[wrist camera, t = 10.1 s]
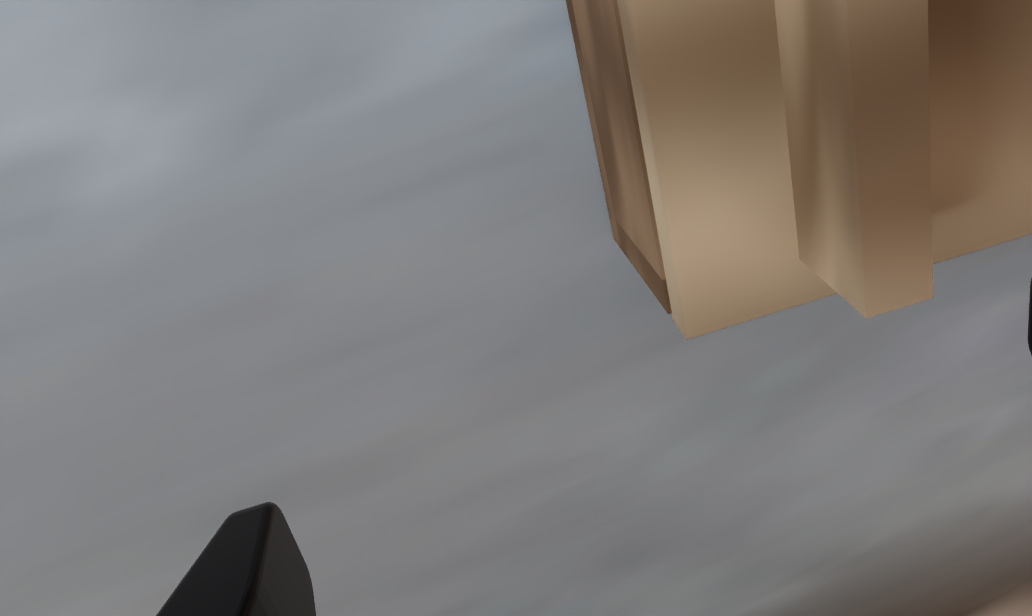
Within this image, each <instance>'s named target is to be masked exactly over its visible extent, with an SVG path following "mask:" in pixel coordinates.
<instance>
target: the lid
mask: <svg viewBox="0 0 1032 616" xmlns="http://www.w3.org/2000/svg"><path fill="white" fill-rule="evenodd" d="M617 3H618V9H619V15H620V20H621V26H622V32H623V37H624V43H625V49H626V54H627V60H628V66H629V72H630V77H631V83H632V89H633V94H634V100H635V106H636V111H637V117H638V123H639V128H640V134H641V140H642V146H643V151H644V157H645V163H646V168H647V174H648V180H649V185H650V191H651V197H652V202H653V208H654V214H655V220H656V225H657V231H658V237H659V242H660V248H661V254H662V259H663V265H664V271H665V277H666V282H667V288H668V294H669V299H670V305H671V311H672V316H673V321H674V322H675V324H676V325H677V327H678V328H679V329H680V331H681V332H682V333H683V335H684V336H685V338H686V339H687V340H688V339H691V338H694V337H697V336H701V335H704V334H707V333H710V332H714V331H717V330H720V329H723V328H727V327H730V326H733V325H737V324H740V323H743V322H746V321H750V320H753V319H756V318H759V317H763V316H766V315H769V314H772V313H776V312H779V311H782V310H785V309H789V308H792V307H795V306H799V305H802V304H805V303H808V302H812V301H815V300H818V299H821V298H825V297H828V296H831V295H834V294H839V295H840V296H842V297H843V298H844V299H845V300H846V301H847V302H848V303H849V304H851V305H852V306H853V307H854V308H855V309H856V310H857V311H858V312H859V313H861V314H862V315H863V316H864V317H865V318H866V319H868V318H871V317H874V316H877V315H880V314H884V313H887V312H890V311H893V310H897V309H900V308H903V307H906V306H910V305H913V304H916V303H919V302H923V301H926V300H929V299H932V298H934V287H933V264H936V263H939V262H942V261H946V260H949V259H952V258H955V257H959V256H962V255H965V254H968V253H972V252H975V251H978V250H981V249H985V248H988V247H991V246H995V245H998V244H1001V243H1004V242H1008V241H1011V240H1014V239H1017V238H1021V237H1024V236H1027V235H1030V234H1032V0H617Z"/></svg>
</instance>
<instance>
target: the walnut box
mask: <svg viewBox="0 0 1032 616" xmlns="http://www.w3.org/2000/svg"><path fill="white" fill-rule="evenodd" d="M566 3H567V8H568V13H569V18H570V23H571V28H572V33H573V38H574V43H575V48H576V53H577V58H578V63H579V68H580V73H581V78H582V83H583V88H584V93H585V98H586V103H587V108H588V113H589V117H590V122H591V127H592V132H593V137H594V142H595V147H596V152H597V157H598V162H599V167H600V172H601V177H602V182H603V187H604V192H605V197H606V202H607V207H608V212H609V217H610V222H611V227H612V232H613V237H614V240H615V241H616V243H617V244H618V245H619V247H620V248H621V250H622V251H623V252H624V254H625V255H626V256H627V258H628V259H629V261H630V262H631V263H632V265H633V266H634V267H635V269H636V270H637V272H638V273H639V274H640V276H641V277H642V278H643V280H644V281H645V283H646V284H647V285H648V287H649V288H650V289H651V291H652V292H653V294H654V295H655V296H656V298H657V299H658V300H659V302H660V303H661V305H662V306H663V307H664V309H665V310H666V311H667V313H668V314H670V313H672V311H671V305H670V299H669V294H668V288H667V282H666V277H665V271H664V265H663V259H662V254H661V248H660V242H659V237H658V231H657V225H656V220H655V214H654V208H653V202H652V197H651V191H650V185H649V180H648V174H647V168H646V163H645V157H644V151H643V146H642V140H641V134H640V128H639V123H638V117H637V111H636V106H635V100H634V94H633V89H632V83H631V77H630V72H629V66H628V60H627V54H626V49H625V43H624V37H623V32H622V26H621V20H620V15H619V9H618V3H617V0H566Z"/></svg>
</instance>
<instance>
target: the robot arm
mask: <svg viewBox="0 0 1032 616" xmlns="http://www.w3.org/2000/svg"><path fill="white" fill-rule="evenodd" d="M1028 344H1029V349H1030V352H1031V355H1032V279H1031V284H1030V303H1029V322H1028ZM156 616H316V611H315V603H314V595H313V587H312V582H311V578H310V574H309V571H308V568H307V565H306V563H305V561H304V558H303V556H302V554H301V552H300V550H299V548H298V545H297V543H296V541H295V539H294V537H293V535H292V533H291V530H290V528H289V526H288V524H287V522H286V520H285V517H284V515H283V513H282V511H281V510H280V508H279V507H278V506H277V505H276V504H274V503H271V502H267V503H263V504H260V505H257V506H253V507H250V508H247V509H243V510H240V511H237V512H234V513H232V514H231V515H230V516H229V517H228V518H227V519H226V520H225V521H224V523H223V524H222V525H221V527H220V528H219V530H218V531H217V532H216V534H215V535H214V537H213V538H212V539H211V541H210V542H209V543H208V545H207V546H206V548H205V549H204V550H203V552H202V553H201V554H200V556H199V557H198V559H197V560H196V561H195V563H194V564H193V566H192V567H191V568H190V570H189V571H188V572H187V574H186V575H185V577H184V578H183V579H182V581H181V582H180V583H179V585H178V586H177V588H176V589H175V590H174V592H173V593H172V595H171V596H170V597H169V599H168V600H167V601H166V603H165V604H164V606H163V607H162V608H161V610H160V611H159V612H158V614H157V615H156Z"/></svg>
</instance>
